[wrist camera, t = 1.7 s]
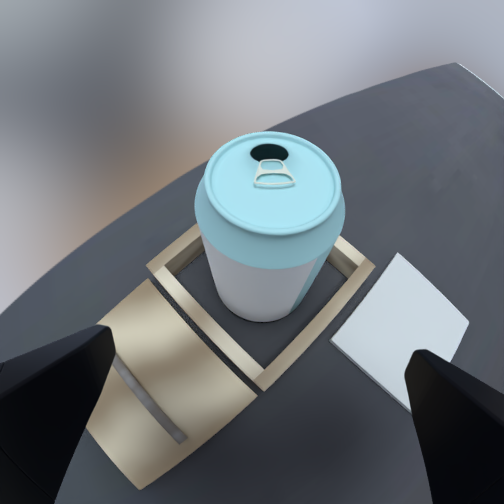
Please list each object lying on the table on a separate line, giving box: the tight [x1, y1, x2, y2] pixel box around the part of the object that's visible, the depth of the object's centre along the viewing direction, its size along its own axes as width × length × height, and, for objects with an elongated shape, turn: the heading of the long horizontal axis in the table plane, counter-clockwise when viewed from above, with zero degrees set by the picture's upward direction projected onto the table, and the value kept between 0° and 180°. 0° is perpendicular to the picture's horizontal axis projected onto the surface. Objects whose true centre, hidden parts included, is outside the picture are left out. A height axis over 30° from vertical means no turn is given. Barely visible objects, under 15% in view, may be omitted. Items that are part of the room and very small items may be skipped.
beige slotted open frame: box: [86, 223, 375, 490], centre depth 19 cm, size 12×24×2 cm, turn 135°
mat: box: [329, 253, 469, 414], centre depth 20 cm, size 10×10×1 cm
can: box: [195, 132, 345, 322], centre depth 17 cm, size 7×7×12 cm
